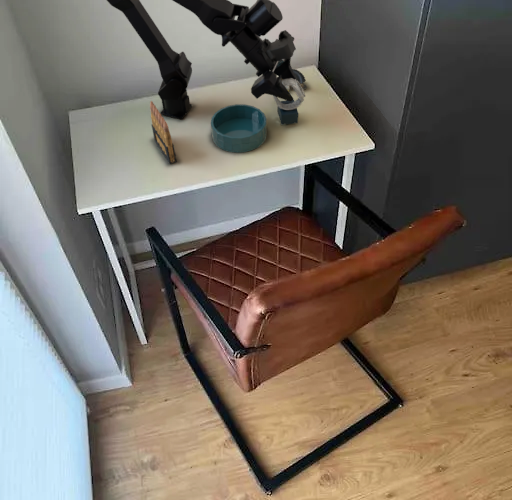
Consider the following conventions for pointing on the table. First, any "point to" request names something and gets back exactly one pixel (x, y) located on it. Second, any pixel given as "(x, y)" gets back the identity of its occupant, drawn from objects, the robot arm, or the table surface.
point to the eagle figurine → (300, 79)
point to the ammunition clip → (162, 134)
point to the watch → (290, 103)
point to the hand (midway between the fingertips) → (295, 93)
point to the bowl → (239, 128)
